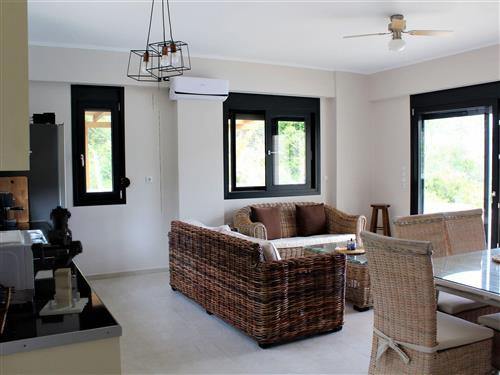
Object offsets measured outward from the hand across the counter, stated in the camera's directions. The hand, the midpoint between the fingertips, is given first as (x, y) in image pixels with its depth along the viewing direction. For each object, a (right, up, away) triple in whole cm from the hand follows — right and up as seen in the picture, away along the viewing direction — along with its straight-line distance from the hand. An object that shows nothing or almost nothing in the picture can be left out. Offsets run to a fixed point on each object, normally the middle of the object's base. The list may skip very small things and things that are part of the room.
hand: (54, 266), depth 186 cm
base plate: (+8, -14, -9) cm, 18 cm away
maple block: (+8, -13, -9) cm, 18 cm away
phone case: (-21, -12, +42) cm, 48 cm away
